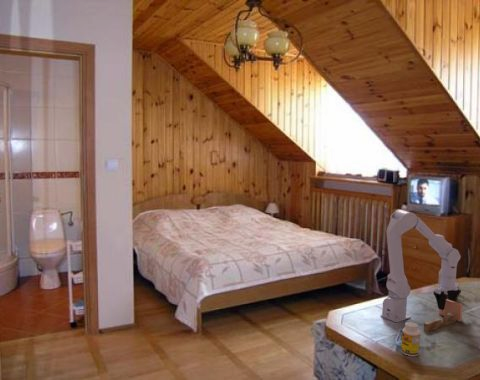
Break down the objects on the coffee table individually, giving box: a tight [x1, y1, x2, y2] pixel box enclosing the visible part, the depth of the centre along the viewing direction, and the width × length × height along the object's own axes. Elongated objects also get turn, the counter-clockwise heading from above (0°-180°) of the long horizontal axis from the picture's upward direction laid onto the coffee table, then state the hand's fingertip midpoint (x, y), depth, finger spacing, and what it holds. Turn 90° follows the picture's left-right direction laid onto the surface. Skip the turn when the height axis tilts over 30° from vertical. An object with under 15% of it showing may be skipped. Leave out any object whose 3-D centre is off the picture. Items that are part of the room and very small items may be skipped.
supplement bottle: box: [400, 321, 421, 357], centre depth 148 cm, size 6×6×10 cm
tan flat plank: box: [438, 298, 464, 322], centre depth 181 cm, size 9×1×7 cm, turn 34°
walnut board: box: [423, 313, 457, 333], centre depth 172 cm, size 20×1×3 cm, turn 124°
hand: (446, 307), depth 183 cm, fingers open, 7 cm apart
